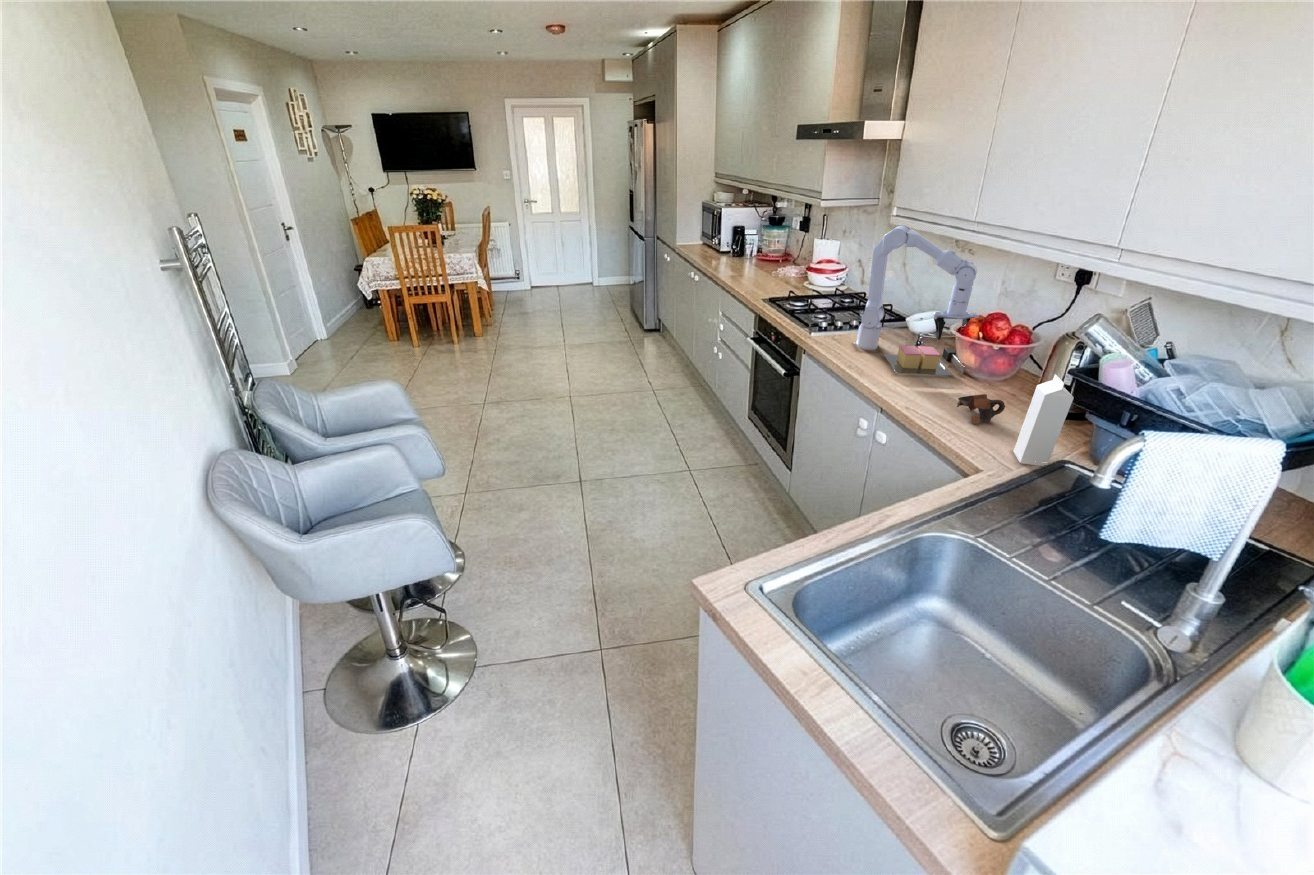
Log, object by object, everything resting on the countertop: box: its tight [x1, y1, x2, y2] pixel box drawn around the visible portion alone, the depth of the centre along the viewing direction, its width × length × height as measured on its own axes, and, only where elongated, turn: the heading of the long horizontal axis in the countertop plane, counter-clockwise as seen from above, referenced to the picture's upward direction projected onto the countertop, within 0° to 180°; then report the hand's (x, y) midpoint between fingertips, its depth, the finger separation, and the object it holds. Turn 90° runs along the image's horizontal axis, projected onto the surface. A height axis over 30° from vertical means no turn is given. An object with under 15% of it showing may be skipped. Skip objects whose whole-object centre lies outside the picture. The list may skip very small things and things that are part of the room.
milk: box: [1013, 373, 1075, 467], centre depth 137 cm, size 6×6×22 cm
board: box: [883, 354, 952, 376], centre depth 197 cm, size 18×18×1 cm
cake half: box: [897, 345, 921, 369], centre depth 195 cm, size 8×5×5 cm, turn 174°
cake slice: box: [916, 345, 941, 369], centre depth 195 cm, size 8×5×5 cm, turn 174°
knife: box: [941, 347, 966, 375], centre depth 195 cm, size 17×2×4 cm, turn 174°
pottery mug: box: [956, 393, 1006, 425], centre depth 161 cm, size 12×10×8 cm
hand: (949, 339), depth 197 cm, fingers open, 7 cm apart
